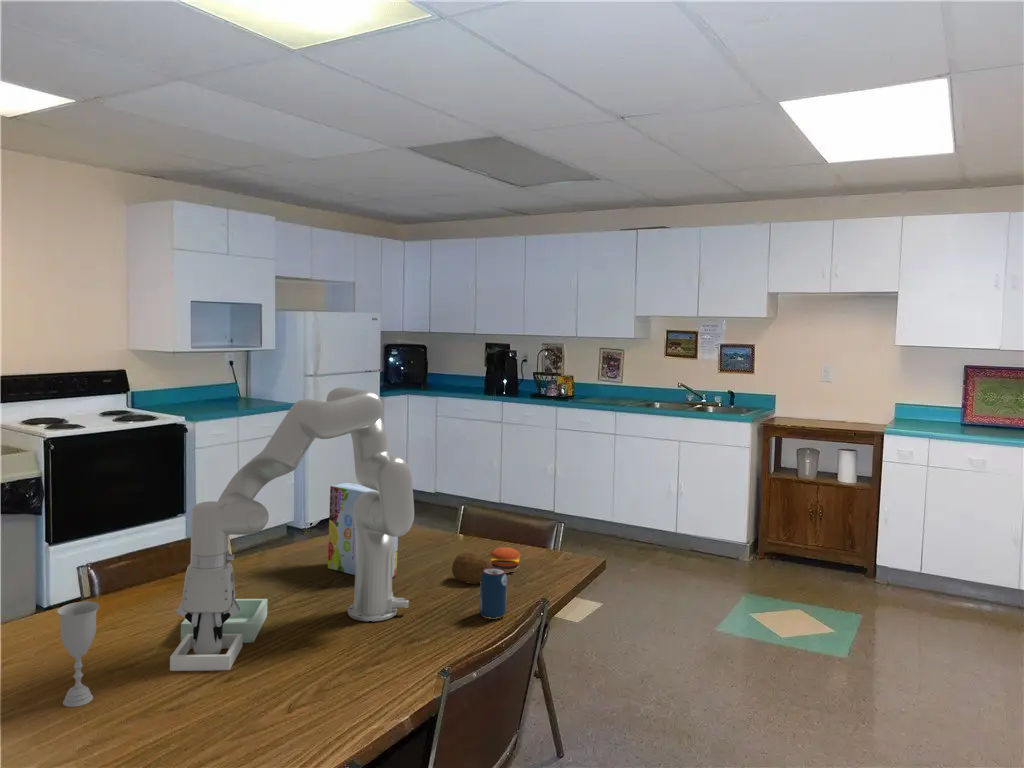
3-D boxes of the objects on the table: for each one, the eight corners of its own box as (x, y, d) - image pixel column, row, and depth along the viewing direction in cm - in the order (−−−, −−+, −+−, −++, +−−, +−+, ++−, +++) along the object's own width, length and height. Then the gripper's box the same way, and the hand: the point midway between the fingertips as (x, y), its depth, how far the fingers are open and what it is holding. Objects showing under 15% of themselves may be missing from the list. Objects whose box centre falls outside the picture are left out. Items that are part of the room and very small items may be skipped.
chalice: (69, 690, 146) (69, 601, 145) (105, 691, 147) (106, 601, 146) (49, 709, 139) (49, 615, 138) (87, 709, 140) (88, 615, 139)
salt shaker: (211, 665, 160) (212, 606, 159) (187, 662, 161) (188, 603, 160) (227, 654, 166) (228, 597, 165) (204, 651, 167) (205, 594, 166)
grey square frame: (242, 646, 170) (242, 633, 170) (229, 670, 158) (229, 656, 158) (187, 646, 169) (187, 633, 168) (169, 670, 157) (170, 656, 156)
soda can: (511, 616, 196) (513, 571, 195) (492, 622, 191) (494, 576, 190) (492, 608, 200) (494, 564, 200) (473, 615, 195) (475, 570, 195)
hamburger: (490, 563, 240) (491, 543, 239) (520, 565, 240) (521, 545, 239) (488, 573, 230) (489, 551, 230) (519, 574, 230) (521, 553, 230)
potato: (481, 590, 214) (482, 560, 214) (445, 583, 219) (446, 553, 219) (494, 582, 222) (495, 553, 222) (459, 575, 227) (460, 546, 226)
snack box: (398, 576, 223) (402, 491, 222) (378, 583, 216) (381, 495, 214) (346, 561, 235) (348, 480, 233) (325, 568, 228) (328, 484, 226)
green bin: (267, 616, 188) (267, 598, 188) (253, 642, 172) (253, 623, 172) (200, 616, 186) (201, 598, 186) (180, 643, 170) (180, 624, 170)
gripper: (252, 554, 167) (250, 635, 168) (175, 554, 165) (174, 635, 166) (244, 565, 159) (242, 649, 161) (164, 564, 157) (162, 650, 158)
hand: (207, 641), depth 163 cm, fingers closed on salt shaker, 3 cm apart
